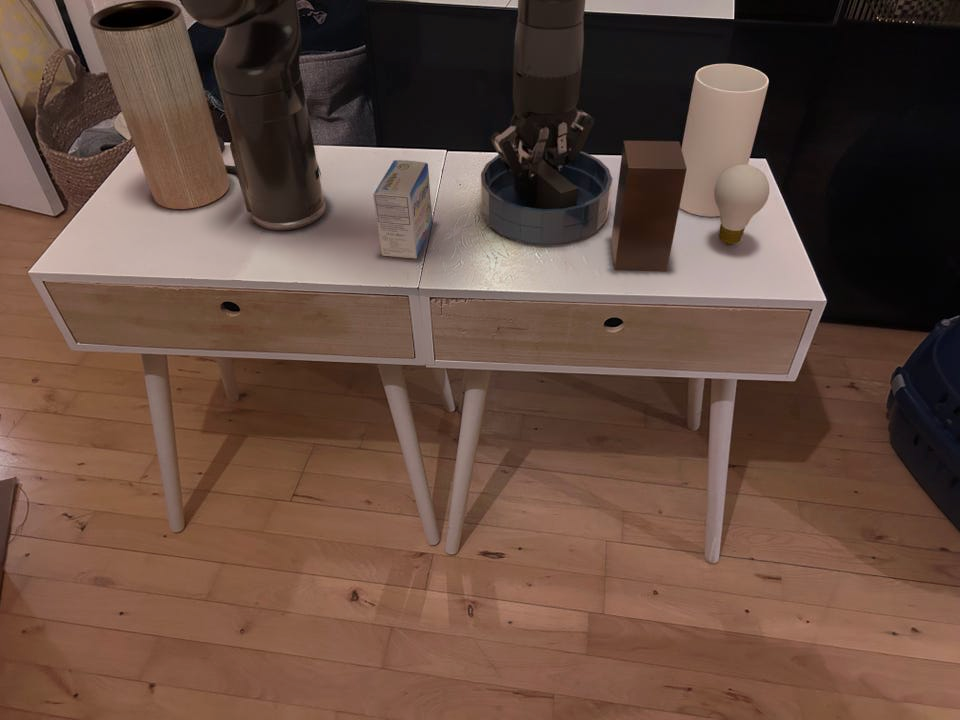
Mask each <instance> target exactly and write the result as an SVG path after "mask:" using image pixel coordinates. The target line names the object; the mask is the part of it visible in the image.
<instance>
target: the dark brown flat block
mask: <svg viewBox="0 0 960 720" xmlns="http://www.w3.org/2000/svg"><path fill="white" fill-rule="evenodd" d="M516 155H517V157H518V159H519V158H520V155H519V154H516ZM536 179H537V196H536V205H533V206H532V207H534V208H537V209H563V208H568V207H573V206H577V194H578V188H577V187H576V186H575V185H573V184H572V183H571V182H570V181H568V180H567V179H566V178H565V177H564V176H562V175H561V174H560V173H559V172H557V171H556V170H555V169H554V168H553V167H551V166H550V165H549V164H548V163H546V162H545V161H544V160H543V159H542V162H540V163H539V167H538V173H537V177H536ZM514 190H515V191H516V192H517V193H518V194H520V180H518V179H516V178H515V180H514Z"/></svg>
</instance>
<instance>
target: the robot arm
mask: <svg viewBox="0 0 960 720" xmlns="http://www.w3.org/2000/svg"><path fill="white" fill-rule="evenodd" d="M179 2H180V4H181V6H182V7H183V8H184V10H185V11H186V13H187V14H188V15H189V16H190V17H191V18H192V19H194V20H195V21H196V22H198V23H199V24H201V25H204V26H205V27H209V28H212V29H226V31H225V35H224V37H223V39H222V42H221V44H220V46H219V47H218V49H217V51H216V53H215V55H214V58H213V71H214V75H215V80H216V84H217V85H218V91H219V94H220V97H221V102H222V105H223V109H224V112H225V115H226V120H227V124H228V127H229V132H230V135H231V139H232V140H231V141H230V143H229V149H230V153H231V156H232V160H233V163H234V165H227V164H225V167H226V171H227V173H234V174H236V175H237V179H238V182H239V187H240V190H241V194H242V198H243V202H244V204H245V205H244V206H245V208H246V212H248V213H249V214H250V215H251V218H252V221H253V222H254V223H255V224H256V225H257V226H259V227H262V228H264V229H268V230H274V231H288V230H289V231H290V230H295V229H300V228H303V227H306V226H308V225H311V224H313V223H314V222H316V221H318V220H319V219H320V218H321V217H322V216H323V215H324V213H325V211H326V207H327V206H326V199H325V196H324V192H323V187H322V182H321V180H323V179H322V173H321V169H320V166H319V163H318V159H317V154H316V150H315V149H316V148H315V143H314V138H313V132H312V128H311V127H312V126H311V122H310V121H311V120H310V117H309V110H308V105H307V100H306V96H305V91H304V90H305V89H304V84H303V79H302V74H301V73H302V72H301V66H300V59H301V54H302V48H303V47H302V46H303V35H302V28H301V20H300V19H301V18H300V14H299V13H300V12H299V11H300V10H299V4H298V0H179ZM585 6H586V0H517V19H516V20H517V21H516V28H515V35H514V43H513V71H512V73H513V75H512V76H513V78H512V102H513V103H512V104H513V108H514V112H513V115H512V118H511V119H510V126H509V127H508V128H507V129H506V130H504V131H503V132H502V133H499V132H494V133H493V134H492V135H491V137H490V141H491V143H492V145H493V147H494V150H496V153H497V155H499V157H500V159H501V161H502V163H503V165H504V167H505V169H506V171H508V172H509V173H511V174H512V175H513V176H515V178H516V179H518V180H520V194H519V195H520V198H521V199H523V201H524V202H525V203H527V204H528V205H529V206H533V205H536V196H537V179H536V177H537V173H538V167H539V163H540V162H542V159H543V154H544V150H545V162H546V163H548V164H549V165H550V166H551V167H553V168H554V169H555V170H556V171H557V172H559V173H560V174H562V171H563V170H564V167H565V166H566V165H567V164H569V163H570V164H573V163H575V162H576V160H577V158H578V156H579V154H580V151H582V149H583V148H584V145H585V143H586V141H587V139H588V137H589V134H590V132H591V130H592V128H593V125H594V124H595V118H594V117H593V116H591V115H590V114H588V113H586V112H585V111H583V110H582V109H578V108H577V105H578V104H579V101H580V89H581V80H582V79H581V78H582V69H583V68H582V67H583V59H584V49H585V48H584V47H585V29H584V23H585V22H584V21H585V20H584V19H585V10H586V9H585V8H586V7H585ZM216 135H217V134H216ZM217 138H218V142H219V146H220V149H221V152H223V150H224V148H225V141H224V140H223V138H222V137H220V136H219V135H217ZM517 138H518V139H519V142H518V148H517V142H516V139H517ZM570 148H571V150H570V151H569V149H570ZM515 149H518V152H519V155H520V158H519V159H518V157H517V155H516V153H515V151H514V150H515Z"/></svg>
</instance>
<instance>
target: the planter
mask: <svg viewBox="0 0 960 720" xmlns="http://www.w3.org/2000/svg"><path fill="white" fill-rule="evenodd" d="M89 25H90V28H91V31H92V34H93V37H94V40H95V42H96V45H97V47H98V51H99V53H100V56H101V59H102V62H103V64H104V67H105V69H106V72H107V75H108V79H109V80H110V81H109V82H110V83H111V86H112V89H113V92H114V94H115V97H116V100H117V103H118V106H119V108H120V111H121V113H122V116H123V119H124V122H125V124H126V128H127V130H128V133H129V135H130V139H131V141H132V144H133V146H134V147H133V148H134V149H135V152H136V155H137V157H138V161H139V163H140V165H141V169H142V172H143V174H144V177H145V180H146V183H147V185H148V188H149V191H150V193H151V195H152V197H153V200H154V201H155V203H156V204H158V205H159V206H162V207H164V208H168V209H173V210H187V209H188V210H189V209H194V208H195V209H196V208H201V207H204V206H206V205H209V204H211V203H214V202H216V201H217V200H220V199H221V197H223V195H225V194H226V193H227V191H228V190H229V188H230V180H229V174H228V172H227V171H226V167H225V165H226V163H225V160H224V157H223V154H222V151H221V149H220V146H219V142H218V138H217V131H216V129H215V125H214V121H213V117H212V113H211V110H210V106H209V102H208V99H207V96H206V91H205V89H204V85H203V82H202V78H201V74H200V71H199V66H198V63H197V60H196V57H195V53H194V52H195V51H194V49H193V45H192V41H191V39H190V35H189V30H188V27H187V24H186V21H185V16H184V14H183V10H182V8H181V7H180V6H179V5H178V4H176V3H174V2H170V1H167V0H133V1H127V2H121V3H117V4H114V5H110V6H108V7H105V8H103V9H100V10H98V11H96V12H95V13H94V14H93V15H92V16H91V17H90V19H89Z"/></svg>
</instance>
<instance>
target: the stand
mask: <svg viewBox="0 0 960 720" xmlns="http://www.w3.org/2000/svg"><path fill="white" fill-rule="evenodd" d="M622 141H623V143H622V150H621V156H620V157H621V158H620V159H621V160H620V165H619V174H618V182H617V189H616V198H615V206H614V213H613V221H612V229H611V230H612V231H611V238H610V242H611V243H610V244H611V252H612V261H613V268H614V269H613V270H616V271H645V272H646V271H649V272H650V271H651V272H667V271H668V269H669V264H670V258H671V254H672V249H673V242H674V237H675V232H676V227H677V222H678V216H679V211H680V201H681V196H682V191H683V186H684V181H685V175H686V170H687V168H686V164H685V161H684V157H683V154H682V150H681V149H682V146H681V143H680V141H675V140H674V141H673V140H672V141H671V140H622Z"/></svg>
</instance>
